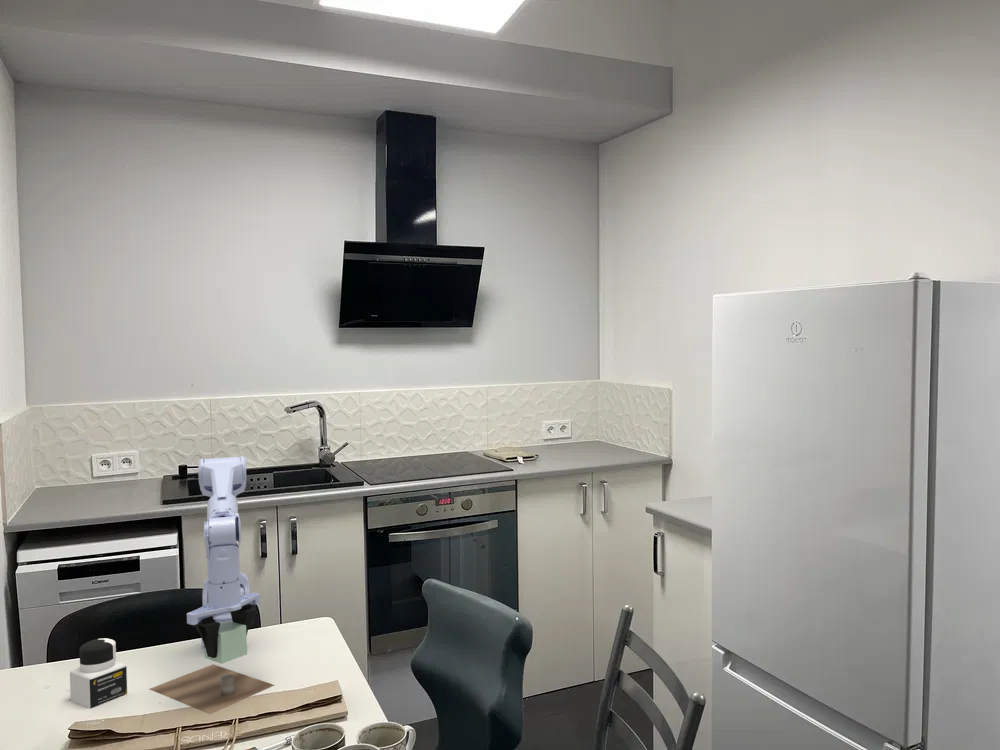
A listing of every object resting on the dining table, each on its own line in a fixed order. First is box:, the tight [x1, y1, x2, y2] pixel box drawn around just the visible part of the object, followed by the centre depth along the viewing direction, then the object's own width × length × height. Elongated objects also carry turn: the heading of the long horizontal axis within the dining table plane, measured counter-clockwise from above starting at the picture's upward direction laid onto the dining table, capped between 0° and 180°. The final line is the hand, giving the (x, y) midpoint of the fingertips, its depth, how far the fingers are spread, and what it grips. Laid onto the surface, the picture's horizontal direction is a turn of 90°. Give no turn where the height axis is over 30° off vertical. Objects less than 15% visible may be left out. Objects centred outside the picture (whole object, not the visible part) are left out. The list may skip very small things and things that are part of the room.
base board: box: [149, 663, 275, 715], centre depth 142 cm, size 20×14×4 cm
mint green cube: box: [204, 621, 248, 665], centre depth 139 cm, size 5×5×6 cm
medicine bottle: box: [69, 637, 128, 709], centre depth 139 cm, size 7×7×12 cm
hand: (226, 651), depth 139 cm, fingers closed on mint green cube, 5 cm apart
